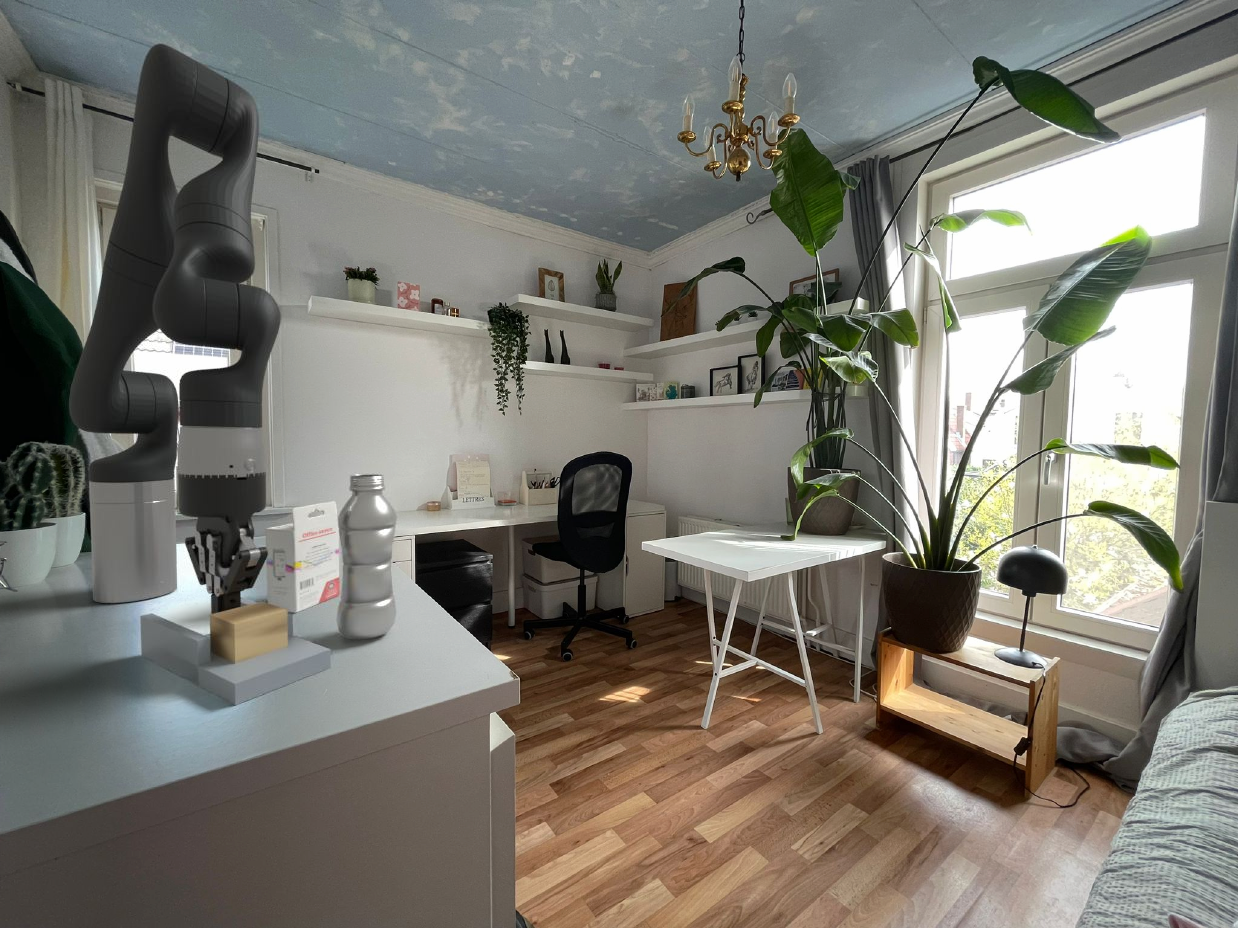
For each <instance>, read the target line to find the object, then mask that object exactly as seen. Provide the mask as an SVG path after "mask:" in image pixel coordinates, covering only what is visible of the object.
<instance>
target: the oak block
mask: <svg viewBox="0 0 1238 928" xmlns="http://www.w3.org/2000/svg"><path fill="white" fill-rule="evenodd" d="M257 602H258V601H257ZM209 634H210V652H211V653H213V654H215V655H218V656H220V657H222V658H224V659H226V660H228V661H231V662H233V663H235V664H236V663H239V662H242V661H245V660H248V659H251V658H254V657H257V656H260V655H263V654H266V653H269V652H272V651H275V650H278V649H281V648H284V647H287V646H288V626H287V610H286V609H283V608H280V607H277V606H274V605H271V604H268V602H265V601H259V602H258V603H254V604H250V605H246V606H242V607H238V608H234V609H230V610H226V611H222V612H218V613H214V614H209Z"/></svg>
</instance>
